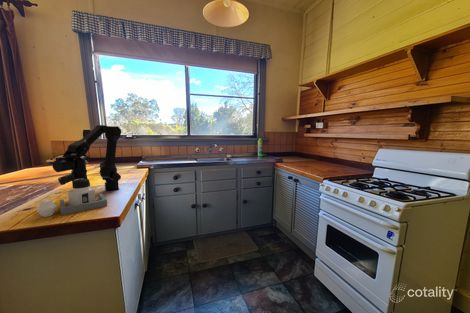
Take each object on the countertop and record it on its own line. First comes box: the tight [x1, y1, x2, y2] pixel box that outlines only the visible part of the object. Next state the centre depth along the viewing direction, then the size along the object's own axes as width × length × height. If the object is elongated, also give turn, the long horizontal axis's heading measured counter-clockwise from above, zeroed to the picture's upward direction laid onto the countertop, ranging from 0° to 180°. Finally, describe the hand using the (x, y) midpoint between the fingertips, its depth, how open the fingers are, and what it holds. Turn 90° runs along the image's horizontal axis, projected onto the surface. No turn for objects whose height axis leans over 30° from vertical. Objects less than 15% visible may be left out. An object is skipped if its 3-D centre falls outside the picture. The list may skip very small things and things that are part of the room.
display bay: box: [59, 192, 108, 216], centre depth 95 cm, size 17×14×3 cm
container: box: [67, 179, 96, 206], centre depth 95 cm, size 8×8×13 cm
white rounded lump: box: [36, 199, 57, 218], centre depth 83 cm, size 6×6×7 cm
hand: (81, 197), depth 102 cm, fingers closed
